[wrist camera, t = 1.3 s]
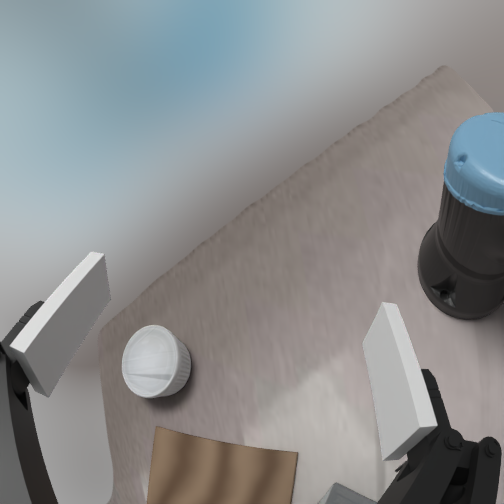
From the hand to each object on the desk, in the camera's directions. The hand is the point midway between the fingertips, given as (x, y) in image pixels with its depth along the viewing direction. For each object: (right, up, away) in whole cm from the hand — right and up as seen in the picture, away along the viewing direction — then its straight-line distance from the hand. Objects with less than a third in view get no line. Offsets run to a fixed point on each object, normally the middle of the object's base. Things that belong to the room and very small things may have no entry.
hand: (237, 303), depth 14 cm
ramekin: (-13, -16, +32) cm, 38 cm away
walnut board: (-5, -34, +17) cm, 39 cm away
